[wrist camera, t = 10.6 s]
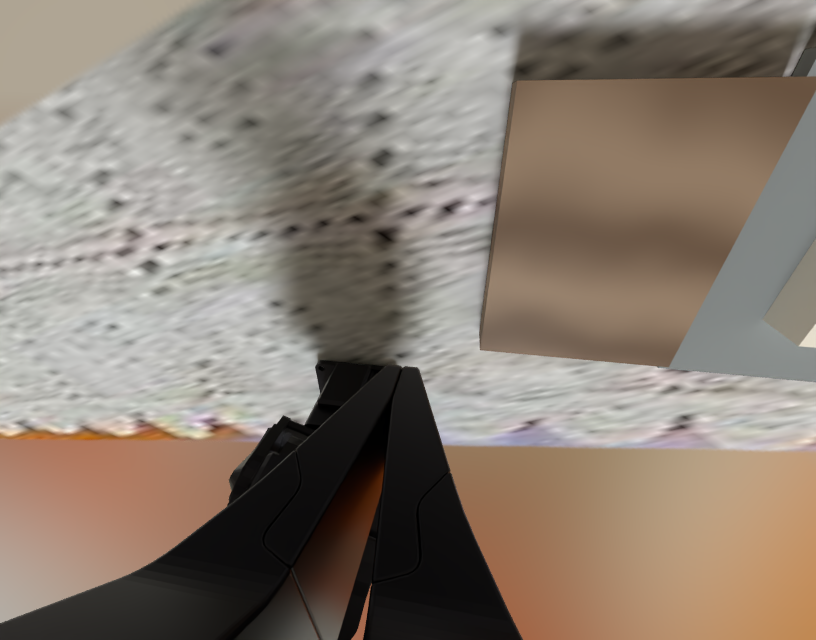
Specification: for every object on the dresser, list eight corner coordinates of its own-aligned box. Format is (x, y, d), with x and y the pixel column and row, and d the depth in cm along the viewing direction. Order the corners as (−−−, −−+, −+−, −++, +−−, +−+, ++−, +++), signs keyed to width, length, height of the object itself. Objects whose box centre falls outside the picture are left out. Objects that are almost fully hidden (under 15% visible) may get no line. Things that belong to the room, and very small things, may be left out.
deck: (653, 347, 22) (668, 367, 20) (479, 332, 23) (479, 350, 21) (782, 79, 14) (823, 76, 12) (512, 83, 16) (517, 80, 14)
